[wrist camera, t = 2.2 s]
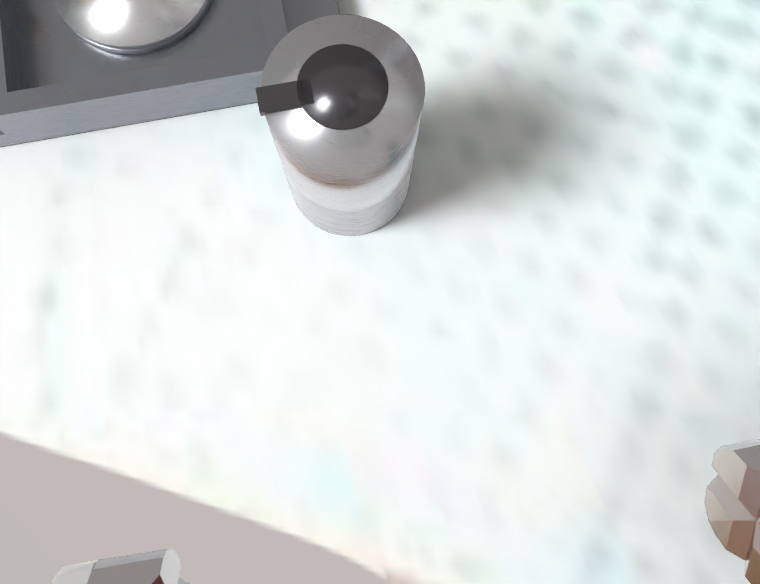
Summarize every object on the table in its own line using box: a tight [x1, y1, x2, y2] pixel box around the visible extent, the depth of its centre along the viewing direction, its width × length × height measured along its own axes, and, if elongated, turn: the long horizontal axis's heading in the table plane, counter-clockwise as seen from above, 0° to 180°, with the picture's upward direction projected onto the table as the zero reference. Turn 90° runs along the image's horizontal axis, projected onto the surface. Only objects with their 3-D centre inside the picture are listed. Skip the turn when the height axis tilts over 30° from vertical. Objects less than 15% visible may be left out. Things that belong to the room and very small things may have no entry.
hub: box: [256, 15, 425, 236], centre depth 24 cm, size 6×5×8 cm
